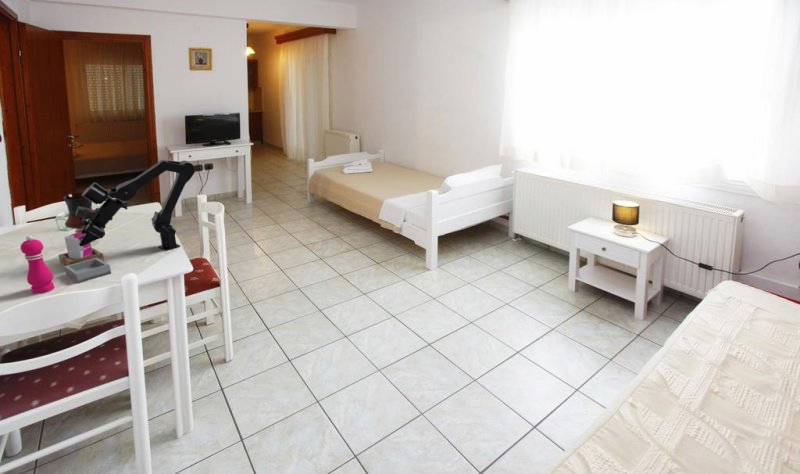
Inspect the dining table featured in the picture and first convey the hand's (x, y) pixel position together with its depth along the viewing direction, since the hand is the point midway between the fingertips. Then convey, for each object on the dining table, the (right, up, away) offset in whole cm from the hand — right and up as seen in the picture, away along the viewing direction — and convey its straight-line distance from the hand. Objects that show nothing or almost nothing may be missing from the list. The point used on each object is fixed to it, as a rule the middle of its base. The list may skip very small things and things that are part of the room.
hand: (79, 242), depth 180 cm
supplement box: (-1, -8, +3) cm, 9 cm away
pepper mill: (+1, -17, -20) cm, 26 cm away
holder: (-1, -8, +3) cm, 9 cm away
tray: (+9, -12, -8) cm, 17 cm away
